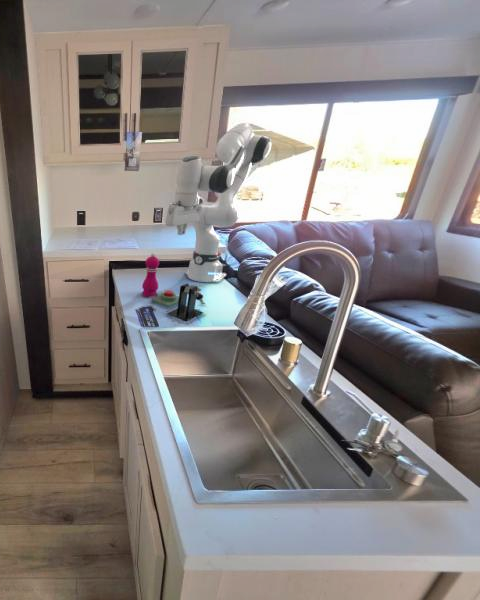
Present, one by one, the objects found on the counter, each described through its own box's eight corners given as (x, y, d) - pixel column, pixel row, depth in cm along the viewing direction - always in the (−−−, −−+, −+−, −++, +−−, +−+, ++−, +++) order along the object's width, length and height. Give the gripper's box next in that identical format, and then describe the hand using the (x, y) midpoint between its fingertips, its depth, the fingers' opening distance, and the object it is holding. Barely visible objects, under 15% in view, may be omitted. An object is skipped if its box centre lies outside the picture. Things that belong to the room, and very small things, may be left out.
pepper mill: (157, 298, 143) (161, 256, 135) (141, 297, 145) (144, 255, 136) (157, 292, 150) (161, 251, 142) (141, 291, 151) (145, 251, 143)
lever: (195, 299, 132) (198, 292, 132) (202, 301, 130) (205, 294, 130) (181, 292, 123) (185, 284, 123) (189, 294, 121) (192, 287, 121)
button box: (166, 296, 145) (167, 288, 144) (183, 302, 139) (184, 294, 137) (151, 303, 139) (152, 294, 137) (168, 309, 132) (169, 301, 131)
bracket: (183, 307, 134) (187, 279, 129) (203, 315, 128) (208, 285, 123) (166, 316, 127) (170, 286, 122) (186, 324, 121) (190, 293, 116)
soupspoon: (199, 289, 156) (185, 289, 157) (199, 282, 154) (185, 282, 155) (210, 305, 135) (194, 305, 136) (211, 298, 134) (195, 298, 135)
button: (167, 293, 140) (168, 289, 139) (174, 295, 137) (175, 292, 136) (162, 295, 138) (163, 291, 137) (169, 297, 135) (170, 294, 134)
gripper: (177, 203, 119) (172, 239, 124) (206, 199, 131) (201, 232, 136) (163, 201, 123) (159, 236, 129) (192, 198, 135) (188, 230, 141)
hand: (181, 234), depth 132 cm, fingers closed
